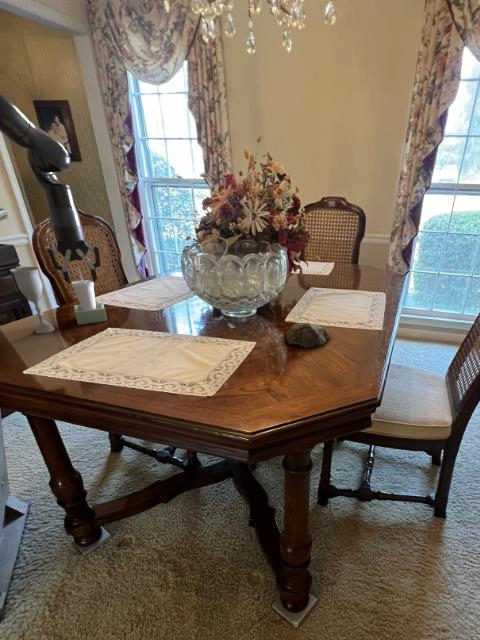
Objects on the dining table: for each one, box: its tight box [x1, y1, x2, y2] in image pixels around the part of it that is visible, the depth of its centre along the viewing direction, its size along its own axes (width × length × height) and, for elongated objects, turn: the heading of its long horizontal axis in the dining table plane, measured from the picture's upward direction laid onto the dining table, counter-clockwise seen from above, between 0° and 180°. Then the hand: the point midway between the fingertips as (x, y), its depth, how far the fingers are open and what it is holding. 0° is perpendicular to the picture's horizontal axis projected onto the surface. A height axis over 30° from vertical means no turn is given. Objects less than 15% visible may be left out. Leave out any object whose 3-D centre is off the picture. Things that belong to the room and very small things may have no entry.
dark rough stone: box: [285, 322, 330, 349], centre depth 109 cm, size 13×12×5 cm
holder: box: [73, 301, 108, 326], centre depth 124 cm, size 9×9×4 cm
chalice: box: [9, 266, 56, 334], centre depth 111 cm, size 7×7×18 cm
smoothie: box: [70, 267, 96, 310], centre depth 120 cm, size 6×6×14 cm
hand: (82, 282), depth 119 cm, fingers closed on smoothie, 6 cm apart
